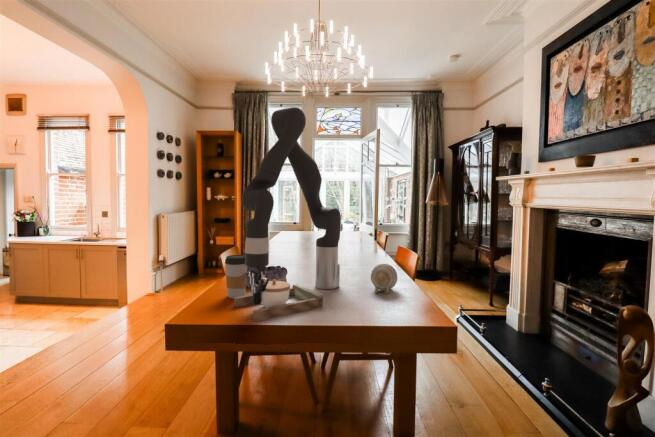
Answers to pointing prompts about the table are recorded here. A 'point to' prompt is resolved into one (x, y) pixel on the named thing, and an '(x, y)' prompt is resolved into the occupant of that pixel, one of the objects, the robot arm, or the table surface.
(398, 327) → the table surface
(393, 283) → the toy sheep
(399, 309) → the table surface
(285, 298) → the lidded jar
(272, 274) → the geode
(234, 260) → the coffee cup
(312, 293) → the channel
